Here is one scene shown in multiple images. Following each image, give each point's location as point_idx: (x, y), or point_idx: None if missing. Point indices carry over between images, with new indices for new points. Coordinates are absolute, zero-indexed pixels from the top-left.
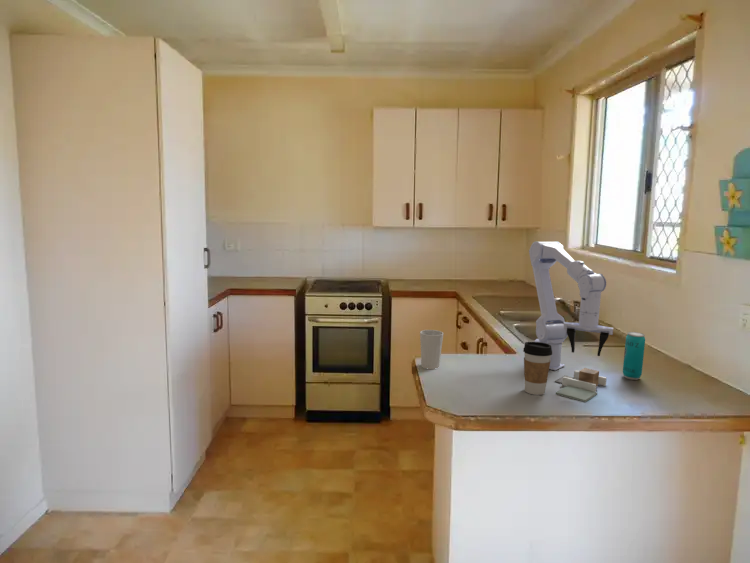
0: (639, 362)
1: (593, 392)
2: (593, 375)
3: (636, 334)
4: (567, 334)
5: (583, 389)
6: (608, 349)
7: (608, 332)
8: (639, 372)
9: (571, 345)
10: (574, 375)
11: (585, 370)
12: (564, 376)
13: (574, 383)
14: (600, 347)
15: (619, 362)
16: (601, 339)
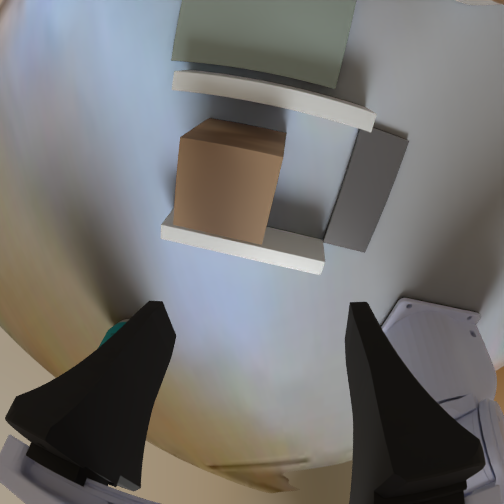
0: None
1: (186, 46)
2: (185, 135)
3: None
4: (472, 435)
5: (242, 59)
6: (255, 456)
7: (35, 465)
8: (103, 338)
9: (387, 344)
10: (320, 247)
11: (247, 191)
12: (365, 235)
13: (300, 90)
14: (110, 347)
15: (211, 416)
16: (61, 402)
